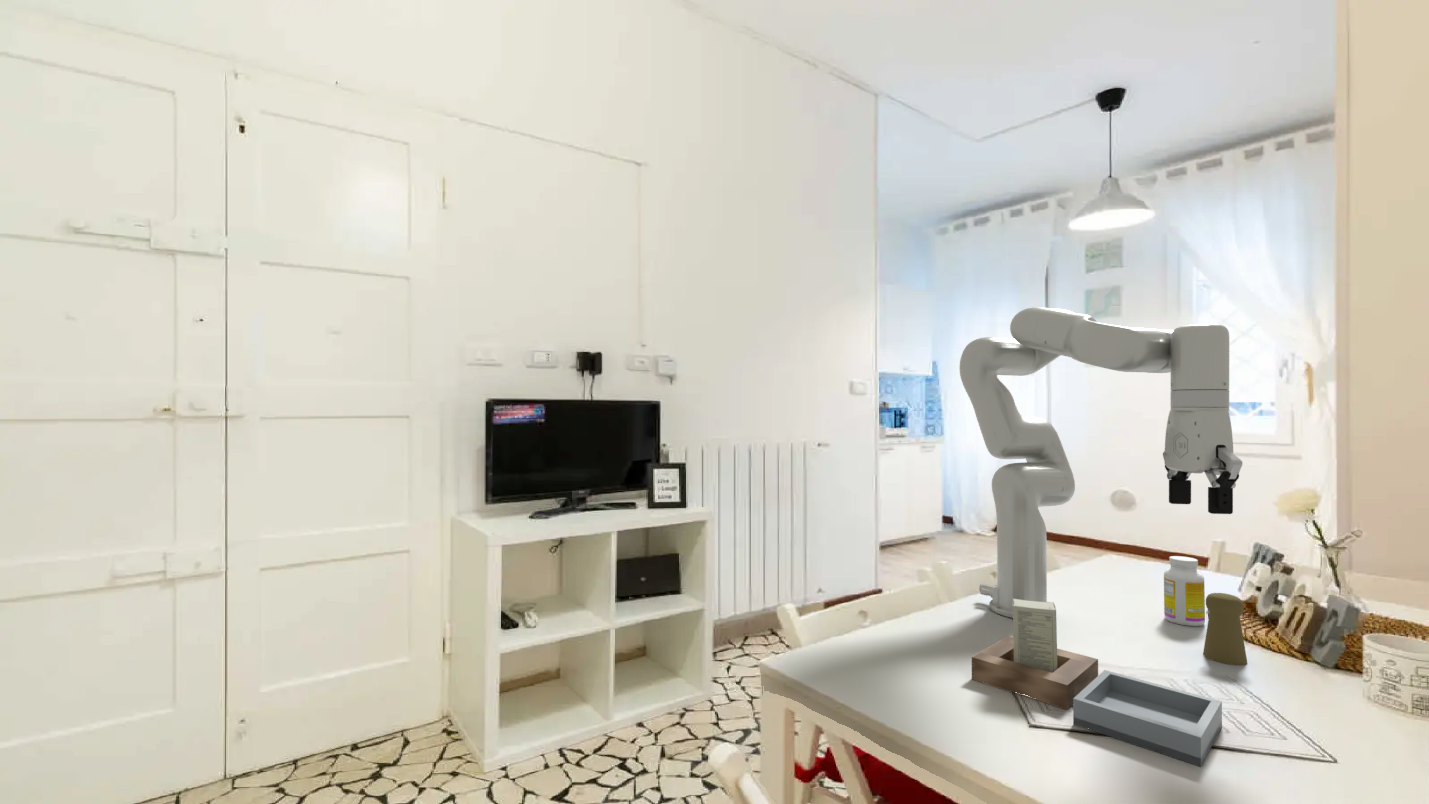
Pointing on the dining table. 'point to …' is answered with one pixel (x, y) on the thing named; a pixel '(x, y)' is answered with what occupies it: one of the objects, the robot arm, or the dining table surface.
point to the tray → (1150, 716)
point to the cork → (1225, 630)
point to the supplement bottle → (1184, 592)
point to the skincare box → (1035, 634)
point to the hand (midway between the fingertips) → (1199, 508)
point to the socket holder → (1035, 674)
